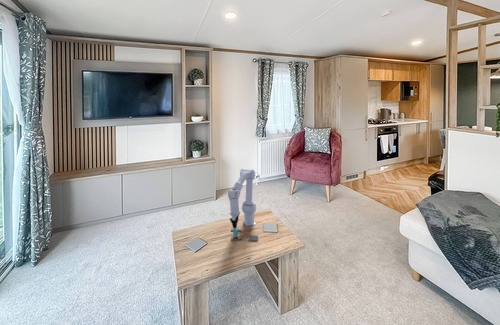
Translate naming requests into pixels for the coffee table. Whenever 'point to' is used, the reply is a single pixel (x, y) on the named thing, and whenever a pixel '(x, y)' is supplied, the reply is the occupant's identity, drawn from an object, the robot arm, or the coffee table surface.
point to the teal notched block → (235, 232)
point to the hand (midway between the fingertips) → (235, 225)
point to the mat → (253, 238)
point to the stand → (236, 237)
